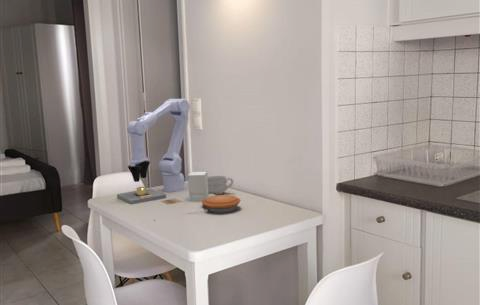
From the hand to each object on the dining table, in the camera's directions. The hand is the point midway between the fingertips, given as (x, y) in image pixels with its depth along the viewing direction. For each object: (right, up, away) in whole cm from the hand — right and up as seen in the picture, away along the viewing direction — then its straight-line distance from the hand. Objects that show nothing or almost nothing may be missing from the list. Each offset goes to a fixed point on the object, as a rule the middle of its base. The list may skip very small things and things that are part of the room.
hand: (140, 179), depth 211 cm
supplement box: (+26, -10, -5) cm, 28 cm away
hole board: (+1, -9, +1) cm, 9 cm away
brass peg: (+1, -9, +1) cm, 9 cm away
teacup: (+34, -7, +9) cm, 36 cm away
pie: (+36, -11, -17) cm, 42 cm away
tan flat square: (+15, -10, -8) cm, 20 cm away
